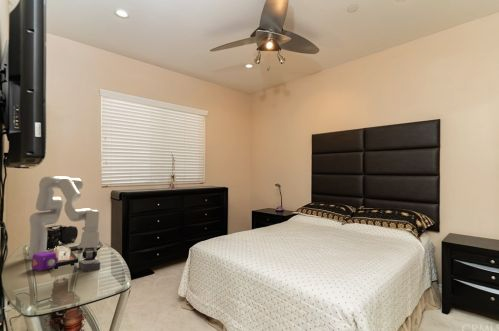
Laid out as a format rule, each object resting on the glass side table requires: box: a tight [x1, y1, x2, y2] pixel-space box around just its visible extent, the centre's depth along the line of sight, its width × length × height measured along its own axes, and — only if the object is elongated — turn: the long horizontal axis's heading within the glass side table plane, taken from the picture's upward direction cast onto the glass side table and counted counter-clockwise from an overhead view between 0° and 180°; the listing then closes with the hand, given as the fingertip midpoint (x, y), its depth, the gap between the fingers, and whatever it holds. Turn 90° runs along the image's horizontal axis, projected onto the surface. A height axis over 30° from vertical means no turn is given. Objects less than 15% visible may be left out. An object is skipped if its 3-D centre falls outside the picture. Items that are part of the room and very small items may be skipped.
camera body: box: [78, 256, 101, 273], centre depth 168 cm, size 12×9×6 cm
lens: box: [85, 248, 95, 261], centre depth 169 cm, size 5×5×8 cm
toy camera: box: [31, 250, 58, 272], centre depth 165 cm, size 11×14×10 cm
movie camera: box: [45, 224, 79, 250], centre depth 216 cm, size 31×18×18 cm, turn 163°
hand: (89, 257), depth 169 cm, fingers closed on lens, 5 cm apart
